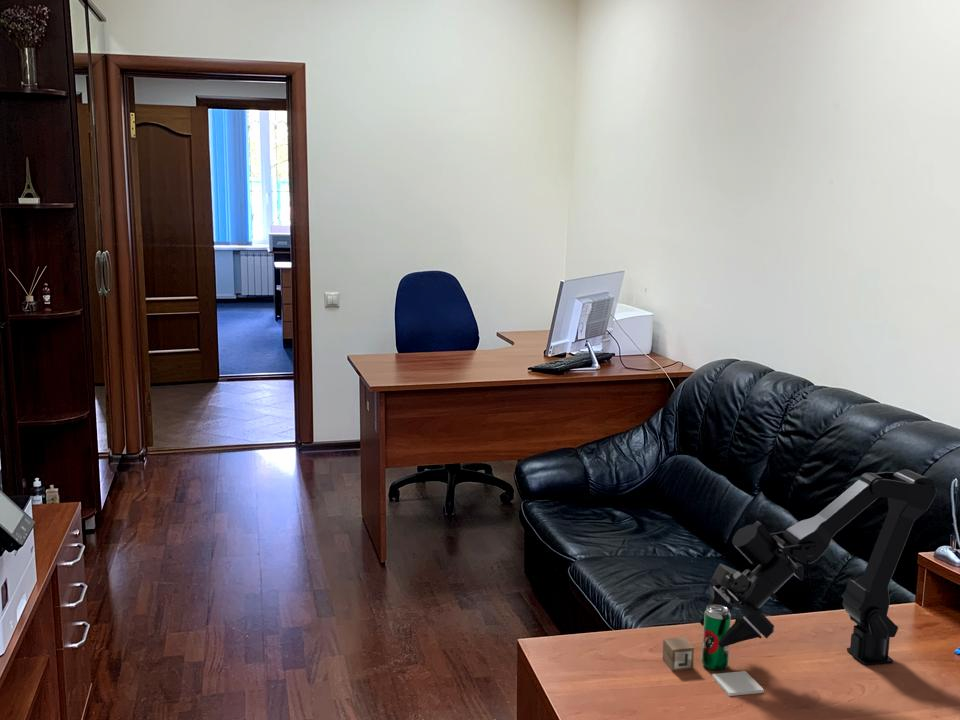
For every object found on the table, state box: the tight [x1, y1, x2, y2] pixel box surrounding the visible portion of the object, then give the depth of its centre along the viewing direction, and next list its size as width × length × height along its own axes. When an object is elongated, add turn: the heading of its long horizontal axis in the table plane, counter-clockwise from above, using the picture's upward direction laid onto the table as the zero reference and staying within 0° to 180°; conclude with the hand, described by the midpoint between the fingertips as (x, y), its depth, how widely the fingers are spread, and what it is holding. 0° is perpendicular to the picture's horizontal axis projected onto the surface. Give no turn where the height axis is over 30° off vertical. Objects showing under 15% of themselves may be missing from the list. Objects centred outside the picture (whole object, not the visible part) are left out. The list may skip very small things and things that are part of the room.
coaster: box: [711, 670, 765, 697], centre depth 167 cm, size 7×7×1 cm
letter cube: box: [662, 636, 695, 672], centre depth 175 cm, size 4×5×4 cm
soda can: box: [701, 605, 732, 672], centre depth 174 cm, size 5×5×12 cm
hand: (710, 634), depth 173 cm, fingers open, 9 cm apart
